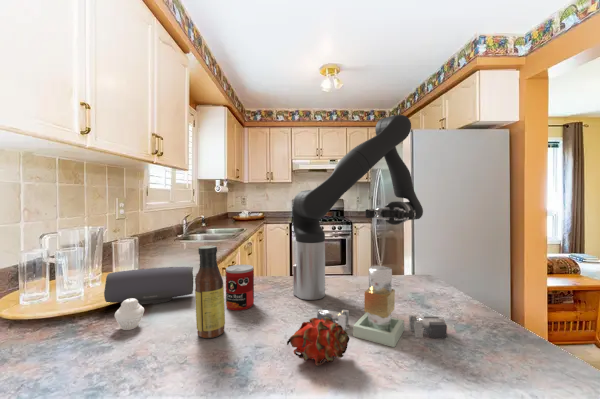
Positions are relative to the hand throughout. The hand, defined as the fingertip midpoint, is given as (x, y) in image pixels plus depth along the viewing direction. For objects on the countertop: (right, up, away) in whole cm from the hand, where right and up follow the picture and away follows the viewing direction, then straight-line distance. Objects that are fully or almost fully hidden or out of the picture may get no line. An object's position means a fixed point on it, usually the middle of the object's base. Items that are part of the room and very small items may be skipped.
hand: (383, 215), depth 83 cm
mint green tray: (-6, -26, -17) cm, 32 cm away
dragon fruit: (-20, -26, -28) cm, 44 cm away
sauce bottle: (-45, -26, -17) cm, 54 cm away
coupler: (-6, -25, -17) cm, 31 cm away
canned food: (-41, -26, 0) cm, 49 cm away
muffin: (-65, -26, -14) cm, 71 cm away
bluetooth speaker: (-68, -26, +4) cm, 73 cm away
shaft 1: (-16, -26, -13) cm, 33 cm away
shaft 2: (+5, -26, -18) cm, 32 cm away
